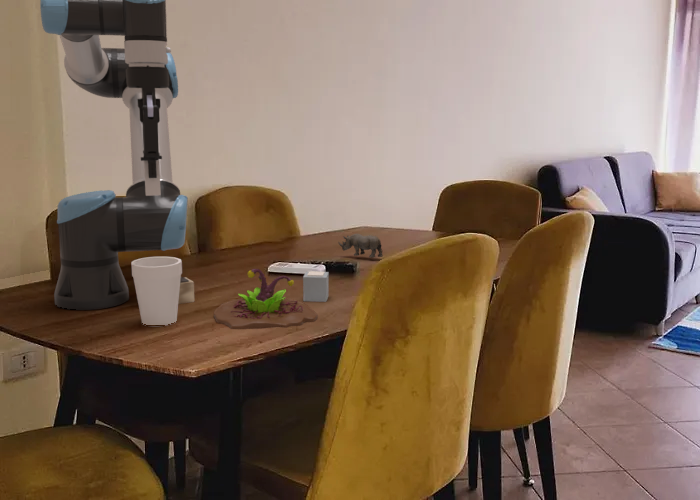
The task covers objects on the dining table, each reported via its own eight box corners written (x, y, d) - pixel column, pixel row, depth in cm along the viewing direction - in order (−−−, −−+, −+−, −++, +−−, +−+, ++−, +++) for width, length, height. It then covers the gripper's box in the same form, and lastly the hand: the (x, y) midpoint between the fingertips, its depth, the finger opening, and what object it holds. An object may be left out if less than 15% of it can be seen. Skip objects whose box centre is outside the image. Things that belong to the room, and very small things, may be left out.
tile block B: (303, 303, 165) (303, 275, 164) (306, 297, 170) (306, 270, 169) (326, 304, 165) (326, 276, 164) (328, 298, 170) (328, 270, 169)
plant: (204, 313, 159) (203, 261, 157) (294, 304, 166) (293, 254, 164) (226, 342, 141) (225, 283, 139) (326, 331, 148) (326, 275, 146)
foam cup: (162, 316, 155) (159, 254, 152) (194, 325, 150) (191, 260, 147) (124, 328, 147) (120, 262, 145) (156, 337, 142) (153, 269, 140)
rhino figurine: (342, 251, 220) (342, 230, 219) (384, 256, 214) (385, 235, 212) (335, 253, 217) (335, 232, 215) (378, 259, 210) (378, 237, 209)
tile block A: (172, 307, 162) (170, 283, 161) (164, 302, 166) (163, 278, 165) (194, 304, 165) (193, 280, 163) (186, 299, 169) (185, 275, 168)
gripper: (170, 65, 134) (175, 198, 138) (166, 67, 146) (171, 190, 151) (125, 64, 132) (132, 200, 136) (125, 66, 144) (131, 191, 149)
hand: (153, 194), depth 143 cm, fingers closed
